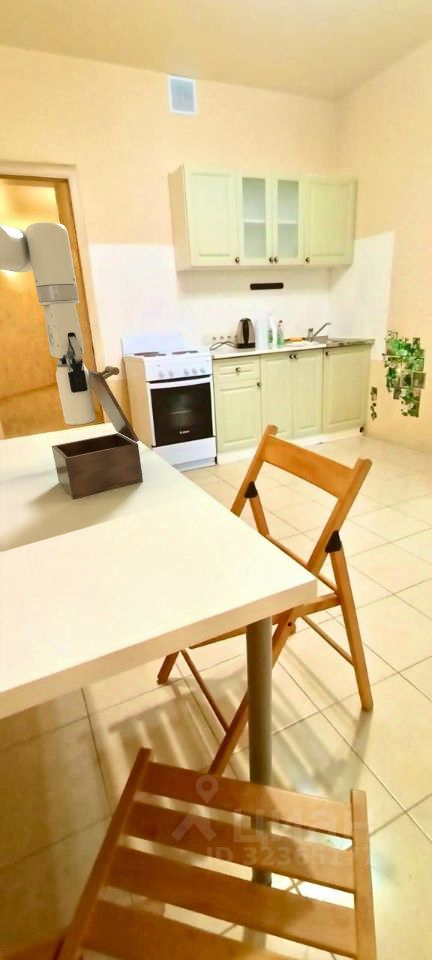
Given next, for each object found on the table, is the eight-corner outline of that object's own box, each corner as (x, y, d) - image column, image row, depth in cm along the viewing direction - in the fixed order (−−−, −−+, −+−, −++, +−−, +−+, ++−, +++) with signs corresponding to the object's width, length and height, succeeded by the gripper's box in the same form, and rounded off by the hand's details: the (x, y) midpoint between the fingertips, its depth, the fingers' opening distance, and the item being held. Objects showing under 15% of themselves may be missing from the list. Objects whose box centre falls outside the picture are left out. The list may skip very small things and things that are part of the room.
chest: (72, 499, 92) (65, 459, 89) (59, 482, 103) (51, 445, 100) (143, 481, 100) (138, 443, 96) (123, 467, 110) (118, 432, 107)
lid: (97, 374, 88) (120, 360, 90) (80, 369, 98) (100, 357, 100) (136, 442, 96) (156, 429, 98) (116, 431, 106) (135, 419, 108)
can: (59, 426, 93) (47, 367, 89) (74, 419, 99) (64, 363, 95) (87, 425, 92) (77, 365, 87) (101, 418, 97) (92, 361, 93)
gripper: (30, 300, 92) (47, 388, 98) (47, 294, 78) (66, 397, 84) (67, 298, 95) (81, 383, 102) (90, 292, 81) (105, 391, 87)
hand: (74, 388), depth 93 cm, fingers closed on can, 6 cm apart
